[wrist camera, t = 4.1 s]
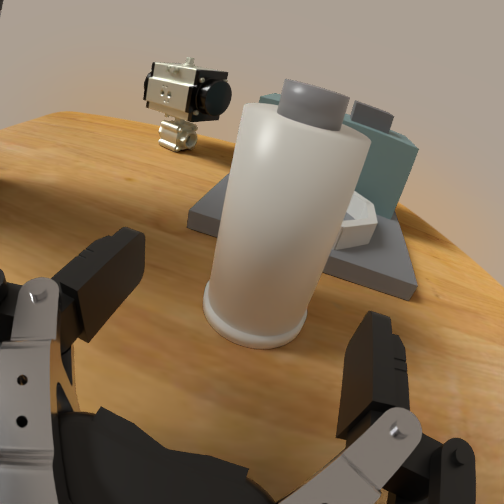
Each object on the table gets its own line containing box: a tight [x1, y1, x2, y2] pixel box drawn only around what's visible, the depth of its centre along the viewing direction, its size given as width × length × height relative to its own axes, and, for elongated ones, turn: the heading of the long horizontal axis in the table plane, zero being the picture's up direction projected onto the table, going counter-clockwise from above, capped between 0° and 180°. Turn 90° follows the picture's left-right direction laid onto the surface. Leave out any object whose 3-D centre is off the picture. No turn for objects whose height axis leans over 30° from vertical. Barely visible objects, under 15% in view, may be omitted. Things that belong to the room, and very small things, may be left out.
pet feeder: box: [187, 93, 419, 301], centre depth 28 cm, size 19×19×12 cm
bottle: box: [203, 79, 371, 349], centre depth 16 cm, size 6×6×12 cm
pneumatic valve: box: [143, 58, 232, 152], centre depth 36 cm, size 6×12×12 cm, turn 53°
